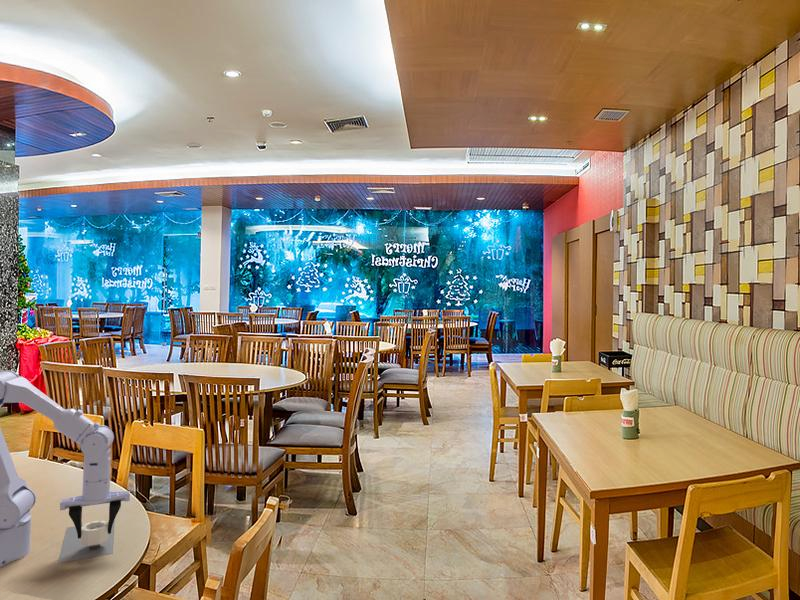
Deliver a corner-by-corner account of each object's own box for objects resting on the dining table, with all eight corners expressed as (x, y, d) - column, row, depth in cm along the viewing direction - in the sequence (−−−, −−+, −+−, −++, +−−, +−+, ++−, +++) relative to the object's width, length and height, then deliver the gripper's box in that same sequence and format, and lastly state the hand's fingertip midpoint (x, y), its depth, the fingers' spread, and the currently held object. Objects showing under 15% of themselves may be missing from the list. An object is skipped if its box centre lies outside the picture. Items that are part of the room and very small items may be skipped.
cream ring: (107, 542, 125) (108, 528, 125) (80, 547, 123) (80, 532, 123) (108, 533, 130) (108, 519, 130) (82, 537, 128) (82, 523, 128)
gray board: (112, 558, 124) (112, 553, 124) (57, 568, 119) (57, 563, 119) (114, 524, 142) (114, 520, 142) (66, 532, 136) (66, 527, 136)
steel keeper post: (94, 550, 125) (95, 531, 125) (86, 549, 126) (86, 530, 125) (102, 545, 127) (103, 527, 127) (94, 544, 128) (94, 526, 128)
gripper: (130, 469, 133) (128, 522, 133) (63, 476, 127) (61, 532, 127) (130, 478, 127) (128, 534, 127) (59, 486, 120) (57, 545, 120)
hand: (94, 534), depth 126 cm, fingers closed on cream ring, 5 cm apart
